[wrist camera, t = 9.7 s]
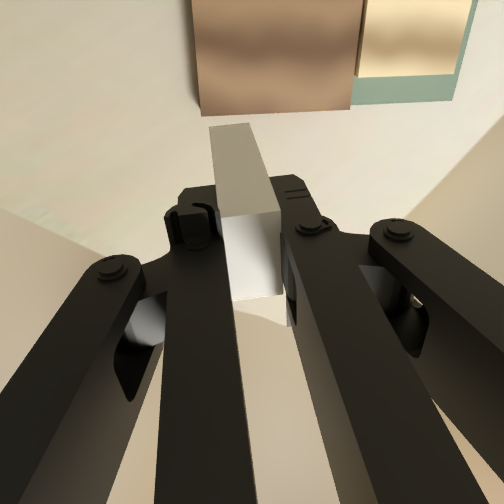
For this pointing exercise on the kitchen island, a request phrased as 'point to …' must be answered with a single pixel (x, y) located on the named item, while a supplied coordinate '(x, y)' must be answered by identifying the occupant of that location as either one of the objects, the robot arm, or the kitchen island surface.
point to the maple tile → (410, 37)
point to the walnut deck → (275, 55)
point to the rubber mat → (411, 82)
